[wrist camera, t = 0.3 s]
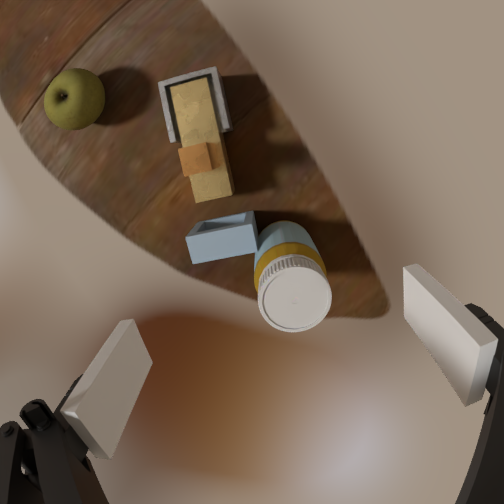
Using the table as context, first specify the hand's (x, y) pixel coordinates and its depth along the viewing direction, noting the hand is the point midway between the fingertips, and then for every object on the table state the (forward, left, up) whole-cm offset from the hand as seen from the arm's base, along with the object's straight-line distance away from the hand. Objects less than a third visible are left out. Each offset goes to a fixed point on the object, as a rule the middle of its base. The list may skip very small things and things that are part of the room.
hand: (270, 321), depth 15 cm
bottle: (+5, +1, -26) cm, 27 cm away
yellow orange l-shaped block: (-10, -5, -25) cm, 27 cm away
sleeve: (-14, -5, -26) cm, 30 cm away
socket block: (+1, -5, -26) cm, 26 cm away
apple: (-20, -19, -26) cm, 38 cm away
